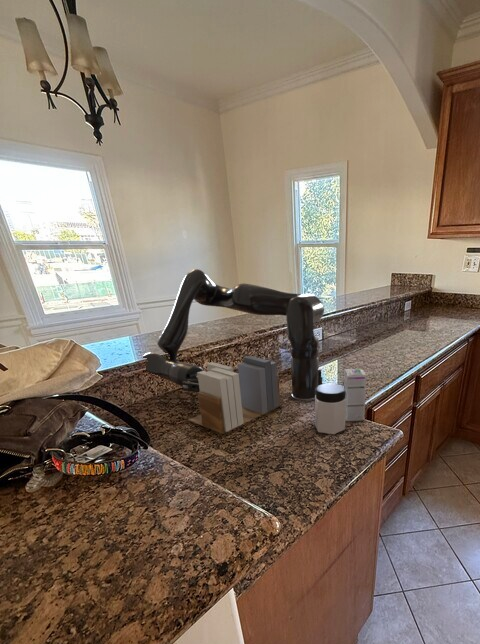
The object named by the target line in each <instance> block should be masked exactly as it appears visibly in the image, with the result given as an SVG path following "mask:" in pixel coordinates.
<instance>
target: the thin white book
mask: <svg viewBox="0 0 480 644" xmlns="http://www.w3.org/2000/svg"><path fill="white" fill-rule="evenodd" d="M206 367H207V372H208V371H211V369H213V368H220V369H224V370H227V371H231V372H234V367H233V366H229V365H225V364H222V363H217V362H214V361H211V362H207V363H206ZM234 373H235V372H234Z"/></svg>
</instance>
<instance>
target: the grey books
mask: <svg viewBox="0 0 480 644" xmlns="http://www.w3.org/2000/svg"><path fill="white" fill-rule="evenodd" d="M242 358H243V359H242V361H243V362H241V363H237V364H236V365H237V373H238V374H239V384H240V394H241V404H242V407H243V408H246V409H249V410H252V411H254V412H257V413H260V414H262V415H264V413H265V414H267V413H269V412H270V410H271V411H273V410H275V409H277V408H279V407H280V406H279V402H278V382H277V375H278V364H277V363H278V362H276V361H272V360H270V359H267V358H266V359H265V358H262V357H257V356H253V355H246V356H243V357H242ZM278 406H279V407H278ZM276 407H277V408H276ZM274 408H275V409H274ZM272 409H273V410H272ZM268 411H269V412H268ZM266 412H267V413H266Z"/></svg>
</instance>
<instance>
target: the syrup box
mask: <svg viewBox="0 0 480 644" xmlns="http://www.w3.org/2000/svg"><path fill="white" fill-rule="evenodd" d="M343 374H344V375H343V376H344V378H343V387H345V389H346V390H345V391H346V395H345V399H346V418H345V422H362V421H365V413H366V395H367V394H366V393H367V392H366V391H367V389H366V388H367V374H366V372H365V370H364V369H363V368H346V369H344V373H343Z"/></svg>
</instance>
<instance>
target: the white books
mask: <svg viewBox="0 0 480 644" xmlns="http://www.w3.org/2000/svg"><path fill="white" fill-rule="evenodd" d="M197 375H198V382H199V388H200V392H203V393H206V394H209V395H212V396H215V397H218V398H220V403H221V411H222V419H223V427H224V431H225V432H226V433H228V432H230V431H232V430H234V429H236V428H238V427H240V426H242V425H244V424H243V414H242V404H241V394H240V384H239V374H238V372H231V371H227V370H224V369H220V368H213V369H211V371H208V370H206V371H205V370H204V371H201V372H197ZM237 426H238V427H237ZM235 427H236V428H235ZM233 428H234V429H233ZM231 429H232V430H231ZM229 430H230V431H229ZM227 431H228V432H227Z"/></svg>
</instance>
